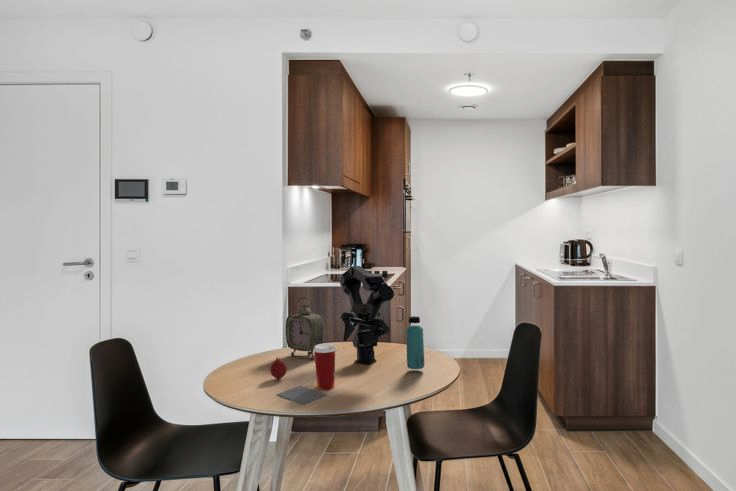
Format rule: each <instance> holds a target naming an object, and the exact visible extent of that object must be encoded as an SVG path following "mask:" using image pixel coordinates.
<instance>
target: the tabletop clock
mask: <svg viewBox="0 0 736 491" xmlns="http://www.w3.org/2000/svg"><path fill="white" fill-rule="evenodd" d="M302 299H306V300H308V301H309V303H310V304H309V305H307V304H306V303H303V304H301V303H300V301H301V300H302ZM297 300H298V301H297V304H298V305H299V306H300V307H301V308H300V309H299V311H298V313H296V314H293V315H288V316H287V317H286V320H285V340H286V345H287V347H288V348H290V350H293V351H292V352H291V353H290V356H291V357H294V356H295V353H296V351H299V352H307V355H308V356H310V359H311V360H315V355H314V351H313V350H314V347H315V346H316V345H318V344H324V342H325V322H324V321H325V320H324V317H323V316H321V315H320V314H318V313H312V310H311V309H310V308H309V307H310V306H312V301H311V299H310V298H309V297H307V296H301V297H300V298H298V299H297Z"/></svg>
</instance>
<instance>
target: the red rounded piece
mask: <svg viewBox="0 0 736 491" xmlns="http://www.w3.org/2000/svg"><path fill="white" fill-rule="evenodd" d="M287 369H288V368H287V365H286V363H285V362H284V361H283V360H282V359H281V358H279V357H278V356H276V358H275V360H274V361H273V362H272V363H271V364H270V368H269V373H270V374H271V376H272V377H274V378H275V379H276V380H277V381H278V380H280V379H282V378H283V377H284V376H285V375H286V374H287V371H288V370H287Z"/></svg>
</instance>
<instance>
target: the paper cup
mask: <svg viewBox="0 0 736 491" xmlns="http://www.w3.org/2000/svg"><path fill="white" fill-rule="evenodd" d="M336 351H337V348H336V345H335V344H333V343H326V342H325V343H323V344H318V345H316V346H315V347H314V349H313V355H314V357H315V358H314V365H315V375H316V377H315V378H316V387H317V389H318V390H322V391H327V390H332V389H334V388H335V375H336V374H335V372H336V371H335V370H336V369H335V368H336Z"/></svg>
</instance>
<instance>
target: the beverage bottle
mask: <svg viewBox="0 0 736 491" xmlns="http://www.w3.org/2000/svg"><path fill="white" fill-rule="evenodd" d="M408 323H409V324H411V325H408V326H407V327H406V329H405V330H406V344H405V345H406V347H405V348H406V366H407V368H408V369H411V370H421V369H424V368H425V346H424V344H425V342H424V328H423V327H422V326H421V325H418V324H420V323H421V319H420V316H409V317H408ZM412 324H414V325H412Z"/></svg>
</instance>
